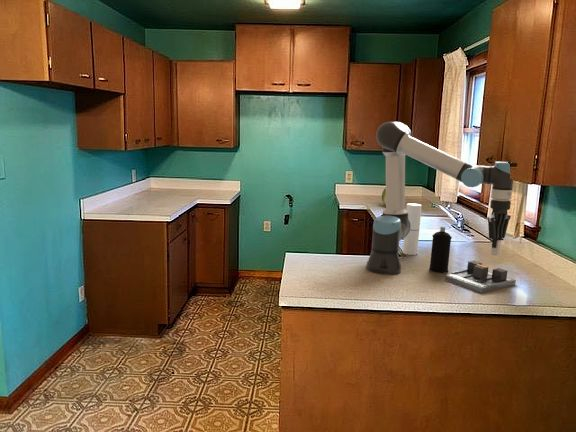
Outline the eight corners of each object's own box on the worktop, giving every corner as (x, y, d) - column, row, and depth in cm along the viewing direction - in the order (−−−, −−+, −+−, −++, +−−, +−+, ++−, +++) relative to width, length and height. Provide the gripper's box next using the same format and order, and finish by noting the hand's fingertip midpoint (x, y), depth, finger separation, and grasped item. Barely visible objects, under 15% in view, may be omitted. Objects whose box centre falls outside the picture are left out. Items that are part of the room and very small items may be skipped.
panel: (481, 293, 183) (483, 277, 182) (444, 279, 198) (445, 264, 197) (515, 284, 194) (517, 269, 193) (477, 272, 209) (479, 258, 208)
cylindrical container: (401, 253, 236) (405, 204, 231) (403, 250, 242) (407, 202, 238) (416, 255, 233) (420, 206, 229) (418, 252, 240) (422, 204, 235)
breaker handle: (481, 279, 193) (482, 267, 192) (472, 276, 196) (474, 265, 195) (487, 277, 195) (488, 266, 194) (479, 274, 198) (480, 263, 197)
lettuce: (386, 216, 369) (373, 199, 369) (392, 206, 389) (379, 191, 389) (403, 204, 360) (389, 187, 360) (408, 195, 380) (395, 179, 380)
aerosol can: (438, 274, 205) (443, 229, 201) (425, 268, 212) (429, 225, 208) (452, 272, 209) (456, 228, 205) (438, 266, 216) (442, 224, 212)
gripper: (499, 201, 187) (493, 259, 191) (518, 199, 194) (512, 255, 198) (483, 199, 193) (477, 254, 198) (502, 197, 200) (496, 251, 204)
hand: (495, 254), depth 198 cm, fingers closed
